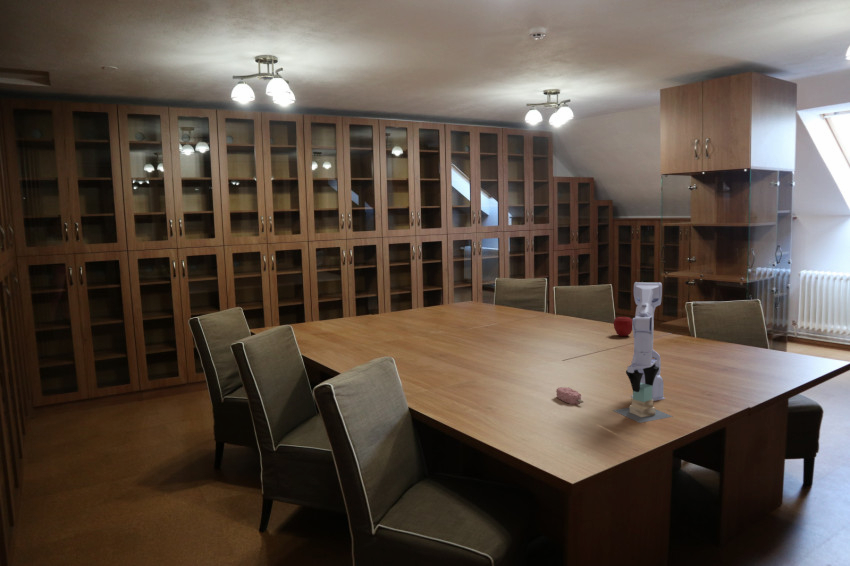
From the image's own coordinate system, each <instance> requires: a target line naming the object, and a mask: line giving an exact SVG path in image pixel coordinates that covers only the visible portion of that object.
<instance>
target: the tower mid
mask: <svg viewBox="0 0 850 566" xmlns="http://www.w3.org/2000/svg"><path fill="white" fill-rule="evenodd" d="M631 405H632V406H633V407H637V408H640V409H643V410H644V409H648V408H651V407H654V401H653V400H649V401H646V402H641V401H637V400H634V399H633V398H631Z"/></svg>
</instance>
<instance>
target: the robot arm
mask: <svg viewBox="0 0 850 566" xmlns="http://www.w3.org/2000/svg"><path fill="white" fill-rule="evenodd" d="M662 295H663V284H662V282H642V281H641V282H639V281H638V282H637V281H635V282H634V284H633V297H634V298H633V299H634V302H635V305H636V307H635V314H634V317H633V318H632V320H633V322H632V338H633V354H632V361H631V364H630V365H628V366H627V368H626V370H625V374H626V376H627V378H628V379H629V382H630V386H631V389H632V392H633V391H635V392H639V390H640V383H643V384H647V385H652V400H653V402H654V401H655V402H656V401H661V400H665V399H666V397H664V385H665V384H664V379H663V377H662V376H661V369H662V368H661V365H662V364H661V363H662V360H661V355H660V354H659V353H658V352H657V351H656V350H655V349H654V327H655V326H654V321H655V319H654V318H655V310H656V309H657V308H656V307H658V306H661V303H662V297H663V296H662ZM630 397H631V398H633V394H632V395H630Z"/></svg>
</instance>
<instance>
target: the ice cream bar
mask: <svg viewBox="0 0 850 566" xmlns="http://www.w3.org/2000/svg"><path fill="white" fill-rule="evenodd" d="M555 392H556V398H557V399H559V400H560V401H562V402H565V403H567V404H569V405H579V404H583V403H584V401H583V400H582V395H581V393H580V392H579V391H577V390H575V389H572V388H570V387H565V386H564V387H559V386H558V387H557V388H556V390H555Z"/></svg>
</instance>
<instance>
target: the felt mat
mask: <svg viewBox="0 0 850 566" xmlns="http://www.w3.org/2000/svg"><path fill="white" fill-rule="evenodd" d="M612 411H613V412H615V413H617V414H620V415H621V416H624V417H626V418H628V419H631V420H633V421H634V422H637V423H639V424H641V423H646V422H648V423H649V422H652V421H656V420H663V419H668V418H672V417H673V415H671V414H668V413H665V412H663V411H661V410H659V409H656V408H655V415H651V416H646V417H640V416H637V415H635V414H633V413H630V406H628V407H625V408H619V409H613V410H612Z"/></svg>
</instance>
